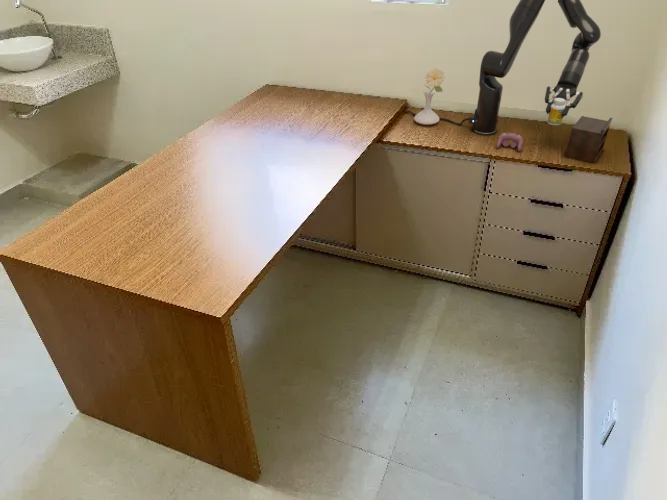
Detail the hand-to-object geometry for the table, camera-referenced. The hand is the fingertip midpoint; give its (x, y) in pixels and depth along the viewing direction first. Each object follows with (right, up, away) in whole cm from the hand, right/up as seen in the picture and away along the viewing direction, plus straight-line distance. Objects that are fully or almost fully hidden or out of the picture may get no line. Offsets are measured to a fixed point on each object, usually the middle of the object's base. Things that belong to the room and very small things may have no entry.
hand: (555, 114), depth 198 cm
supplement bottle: (+1, -3, +4) cm, 5 cm away
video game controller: (-15, -11, +10) cm, 21 cm away
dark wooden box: (+13, -15, +4) cm, 20 cm away
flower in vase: (-44, +5, +33) cm, 55 cm away
